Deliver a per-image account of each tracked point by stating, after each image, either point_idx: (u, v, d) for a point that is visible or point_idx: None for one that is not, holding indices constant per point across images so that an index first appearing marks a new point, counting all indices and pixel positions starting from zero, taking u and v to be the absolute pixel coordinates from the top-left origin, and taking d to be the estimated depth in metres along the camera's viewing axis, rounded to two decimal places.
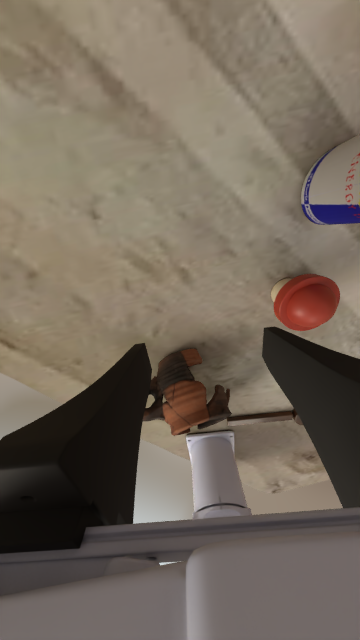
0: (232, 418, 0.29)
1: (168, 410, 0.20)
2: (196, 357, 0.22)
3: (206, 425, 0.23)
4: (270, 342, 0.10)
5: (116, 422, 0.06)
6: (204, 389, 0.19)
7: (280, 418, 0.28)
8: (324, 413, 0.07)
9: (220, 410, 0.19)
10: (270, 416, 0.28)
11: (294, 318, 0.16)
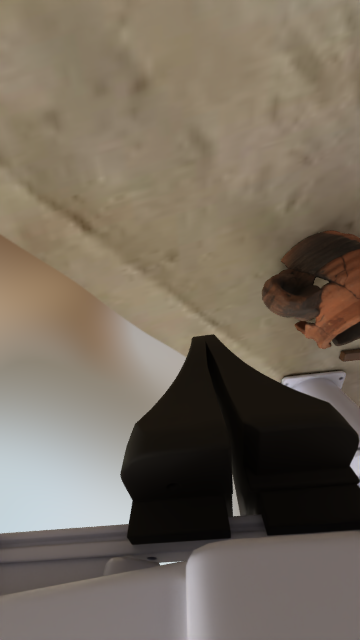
0: (350, 351, 0.22)
1: (335, 292, 0.13)
2: None
3: (350, 340, 0.17)
4: (206, 350, 0.10)
5: None
6: None
7: None
8: (227, 423, 0.07)
9: None
10: None
11: None
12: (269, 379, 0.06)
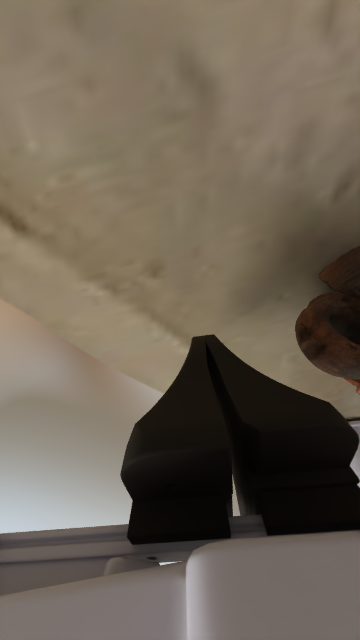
0: None
1: None
2: None
3: None
4: (206, 350, 0.10)
5: None
6: None
7: None
8: (227, 423, 0.07)
9: None
10: None
11: None
12: (269, 379, 0.06)
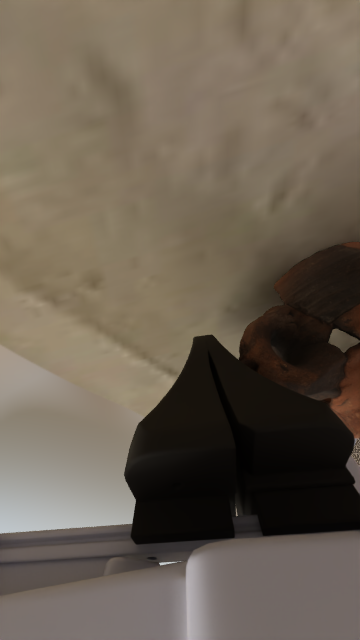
0: None
1: None
2: None
3: None
4: None
5: None
6: None
7: None
8: None
9: None
10: None
11: None
12: (266, 379, 0.06)
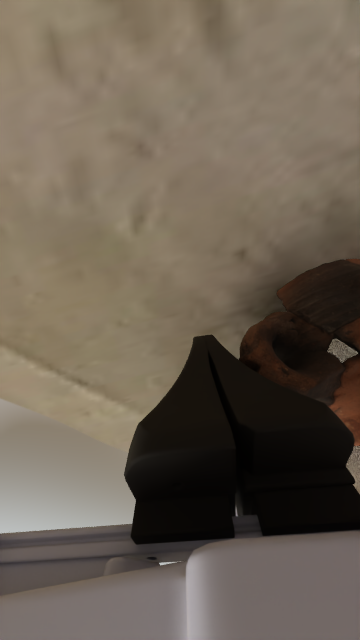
0: None
1: None
2: None
3: None
4: None
5: None
6: None
7: None
8: None
9: None
10: None
11: None
12: (266, 379, 0.06)
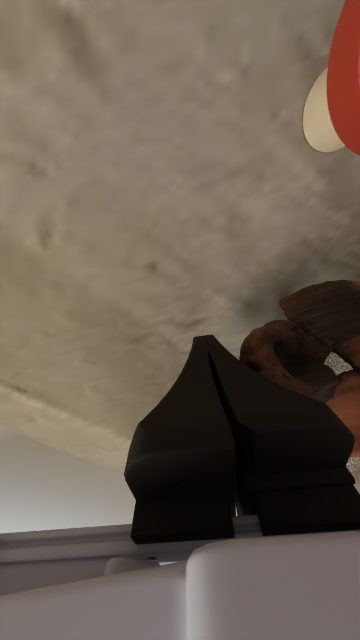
0: None
1: None
2: None
3: None
4: None
5: None
6: None
7: None
8: None
9: None
10: None
11: None
12: (266, 379, 0.06)
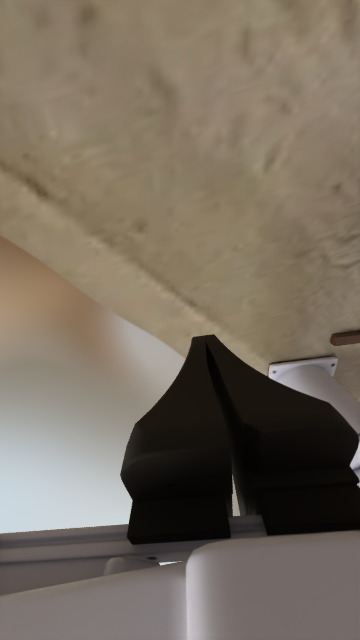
0: (341, 334, 0.21)
1: None
2: None
3: None
4: (206, 350, 0.10)
5: None
6: None
7: None
8: (227, 423, 0.07)
9: None
10: None
11: None
12: (269, 379, 0.06)
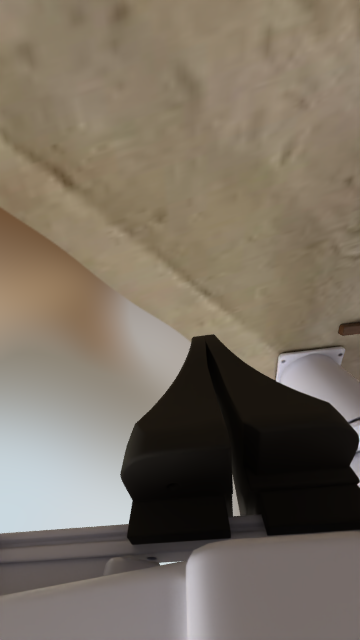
0: (349, 324, 0.21)
1: None
2: None
3: None
4: (206, 350, 0.10)
5: None
6: None
7: None
8: (227, 423, 0.07)
9: None
10: None
11: None
12: (269, 379, 0.06)
